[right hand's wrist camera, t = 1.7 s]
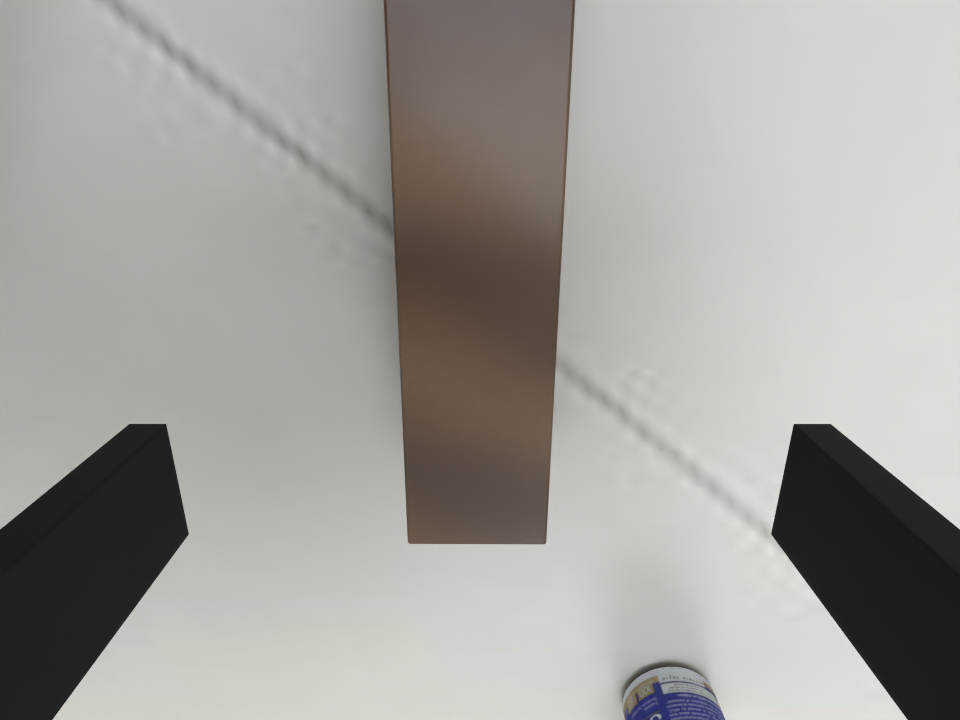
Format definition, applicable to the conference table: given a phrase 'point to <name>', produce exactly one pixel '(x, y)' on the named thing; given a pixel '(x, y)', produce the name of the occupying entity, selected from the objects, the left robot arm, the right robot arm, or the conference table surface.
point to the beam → (478, 257)
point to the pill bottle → (671, 696)
